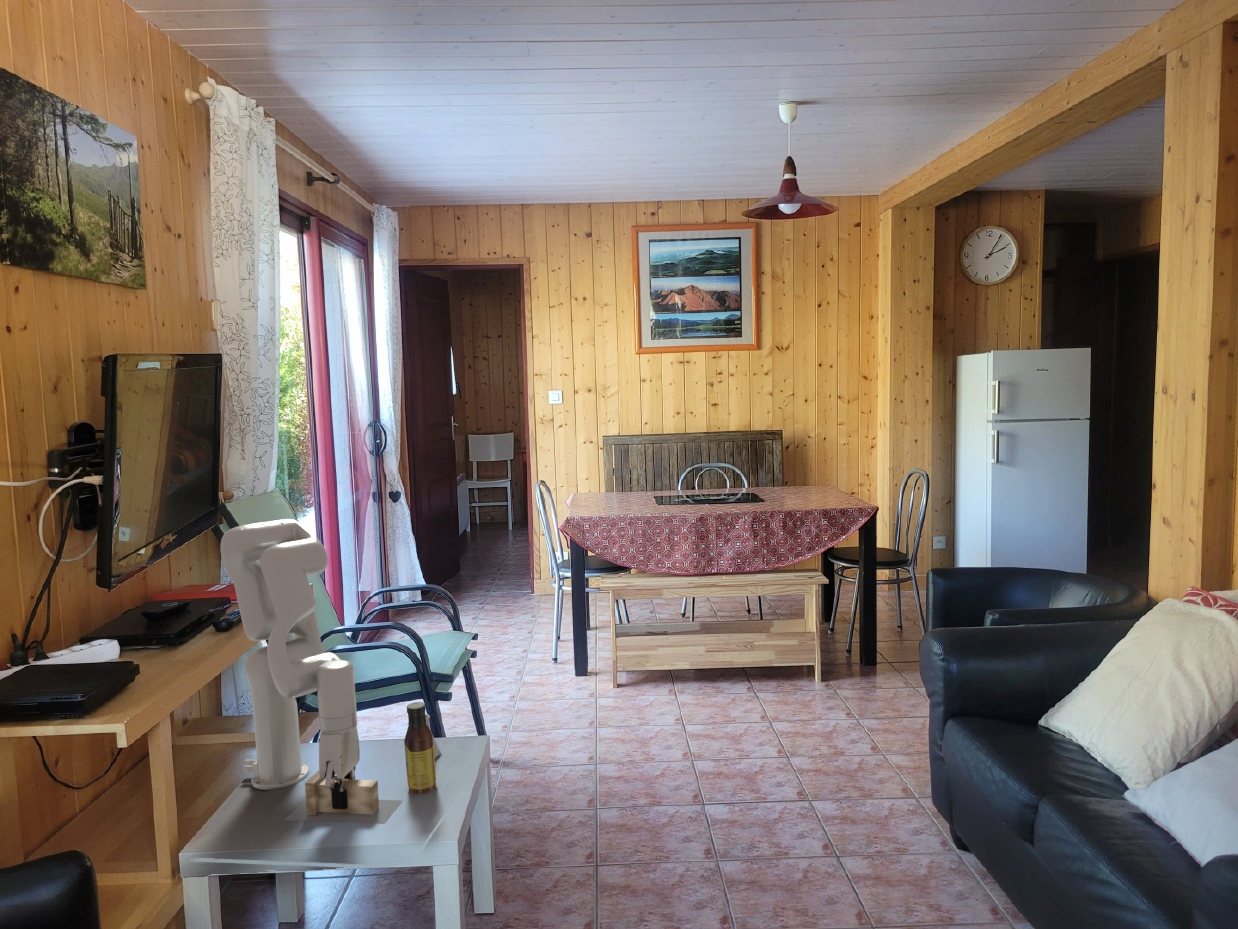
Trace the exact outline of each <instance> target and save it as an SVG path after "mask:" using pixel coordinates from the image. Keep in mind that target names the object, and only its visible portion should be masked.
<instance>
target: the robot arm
mask: <svg viewBox="0 0 1238 929" xmlns="http://www.w3.org/2000/svg"><path fill="white" fill-rule="evenodd" d="M220 555H221V556H220V557H221V560H222V562H223V566H224V567H225V570H226V572H227V573H228V575H229V577H230V579H231V581H232V584H233V586H234V589H235V595H236V600H237V605H238V609H239V613H240V614H239V615H240V618H241V622H242V626H243V627H242V628H243V631H244V633H245V635H246V637H247V639H249V640H250V641H253V642H259V641H260V642H261V641H266V640H268V641H267V645H265V646H262V647H259V648H257V649H256V650H253V651H252V652H250V654H249V655H248V656H247V657H246V659H245V662H244V672H245V675H246V676H245V677H246V679H247V683H248V687H249V692H250V697H251V704H252V715H253V716H252V717H253V724H254V725H253V726H254V727H253V728H254V738H255V753H256V759H251V758H247V759H245V760H244V762H243V768H242V771H243V772H252V773H253V775H252V777H250V778H251V780H250V783H251V786H252V787H253V788H255V789H257V790H262V791H263V790H264V791H269V790H271V789H272V790H273V789H279V788H280V789H281V788H285V787H288V786H291V785H294V784H296V783H299V782H301V781H302V780H304V779H305V778H307V776H308V775H309V773H310V768H309V766H308V765H307V764H305V763H302V753H301V740H300V739H301V738H300V727H299V726H300V725H299V715H298V703H297V699H296V698H299V697H302V696H305V695H309V694H313V693H315V692H317V705H318V718H319V719H318V720H319V731H320V733H319V741H318V742H319V743H318V771H319V776H320V779H325V778H326V781H325V788H329V789H330V792H331V796H332V808H333V809H347V808H348V803H347V790H345V780H344V779H356V773H355V771H356V766H357V765H358V764H359V761H360V758H361V757H360V756H361V753H360V751H361V750H360V739H359V733H358V713H357V712H358V711H357V701H356V700H357V697H356V686H355V685H356V684H355V670H354V666H353V664H352V662H350V661H349V660H344V659H341V658H340V656H338V655H337V654H336V653H334V652H328V651H327V652H324V650H323V649H324V648H323V644H322V639H321V636H320V631H319V626H318V621H317V617H316V613H315V609H316V607H317V602H316V599H315V596H314V594H313V590H312V587H311V585H310V581H309V579H308V577H309V576H310V577H311V576H315V575H319V574H321V573H324V572H325V570H326V569H327V567H328V562H329V559H328V553H327V550H326V549H325V547H324V544H323V543H322V541H321V540H320V539H319V538H318V537H317V536H316V535H315V534H314V533H312V531H311V530H309V529H308V528H307V527H306V526H304V525H303V524H302V523H301V522H299V521H298V520H295V519H292V518H283V519H282V518H281V519H277V520H269V521H261V522H253V523H247V524H242V525H238V526H235V527H233V528H230V529H228V530H227V531H226V532H224V533H223V536H222V538H221V541H220ZM258 561H259V562H258ZM288 635H291V636H292V638H293V639H290V640H287V637H288ZM335 780H340V784H339V783H338V782H335Z"/></svg>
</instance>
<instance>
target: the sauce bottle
mask: <svg viewBox="0 0 1238 929" xmlns="http://www.w3.org/2000/svg"><path fill="white" fill-rule="evenodd" d="M406 713H407V717H408V718H407V720H408V726H407V729H406V733H405V737H404V739H403V741H404V742H403V743H404V750H405V751H404V752H405V753H404V754H405V766H406V767H405V768H406V776H407V777H406V779H407V787H408V791H409V792H410V793H412V794H416V795H417V794H418V795H422V794H427V793H429V792H431V791H432V792H433V791H434V790H435V789H436V787H437V772H436V770H437V769H436V760H435V759H436V758H435V757H434V744H433V738H432V734H433V731H432V729H431V727H430V728H429V726H428V725H427V724H426V718H425V714H426V703H425V702H423V701H415V702H411V703H409V704H407V706H406ZM430 729H431V730H430Z"/></svg>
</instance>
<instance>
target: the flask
mask: <svg viewBox="0 0 1238 929" xmlns="http://www.w3.org/2000/svg"><path fill="white" fill-rule="evenodd" d="M425 718H426V724H427V725H428V726H429V728H430V730H431V731H432V729H431V726H430V719H431V715H430V714H426V713H425ZM432 738H433V744H434V757H435V759H436V758H438V757H439V756H440V755H441V754H442V752H441V749H440V748H439V745H438V743H437V741H436V739H435V737H434V735H433V733H432Z"/></svg>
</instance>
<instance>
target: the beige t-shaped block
mask: <svg viewBox="0 0 1238 929" xmlns="http://www.w3.org/2000/svg"><path fill="white" fill-rule="evenodd" d="M344 780H345V790H347V803H348V808H347V809H333V808H332V796H331V792H330V789H329V788H325V781H326V778H325V779H320V776H319V770H317V771H316V772H315V773H314V774H313V775H312V776H311V777H309V779H307V780H306V782H304V788H305V789H304V790H305V800H306V809H307V815H317V814H318V813H319V812H332V813H355V814H374V813H375V812H376V810H377V809H378V808H379V800H380V799H379V784H378V782H379V781H378V780H377V779H357V778H355V779H344ZM335 782H338V783H339V784H340V780H335Z"/></svg>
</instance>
